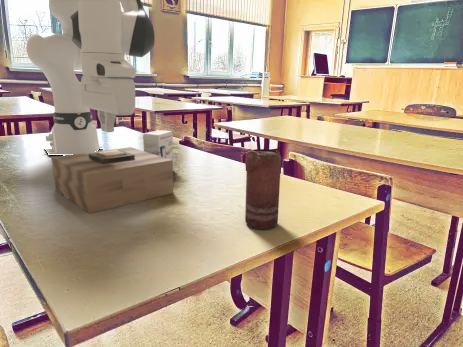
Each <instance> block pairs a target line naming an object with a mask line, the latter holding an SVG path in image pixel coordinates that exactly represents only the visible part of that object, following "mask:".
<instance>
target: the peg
mask: <svg viewBox="0 0 463 347" xmlns="http://www.w3.org/2000/svg"><path fill="white" fill-rule="evenodd" d="M111 150H112V149H111ZM98 155H99V156H102V157H104V158H109V157H116V156H123V155H125V153H123V152H120V151H117V150H112V151H105V152H98Z"/></svg>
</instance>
